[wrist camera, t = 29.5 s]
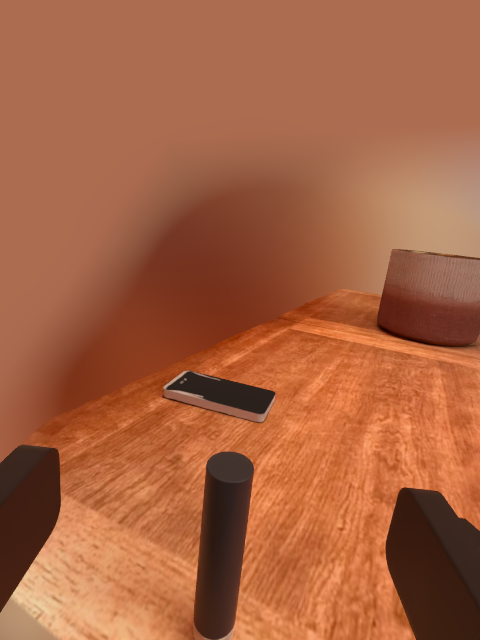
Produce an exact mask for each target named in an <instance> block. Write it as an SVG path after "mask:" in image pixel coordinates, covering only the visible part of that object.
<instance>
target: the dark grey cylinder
mask: <svg viewBox="0 0 480 640" xmlns="http://www.w3.org/2000/svg"><path fill="white" fill-rule="evenodd" d="M253 474H254V467H253V464H252V462H251V461H250V460H249V459H248V458H247V457H246V456H244V455H242V454H239V453H236V452H220V453H217V454H215V455H213V456H212V457H211V458H210V459H209V460H208V462H207V465H206V476H205V488H204V500H203V511H202V523H201V535H200V547H199V558H198V570H197V582H196V593H195V605H194V617H193V636H194V639H195V640H232V637H233V633H234V625H235V617H236V609H237V601H238V593H239V585H240V578H241V570H242V562H243V554H244V546H245V538H246V530H247V522H248V514H249V506H250V498H251V490H252V482H253Z"/></svg>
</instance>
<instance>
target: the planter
mask: <svg viewBox="0 0 480 640" xmlns="http://www.w3.org/2000/svg"><path fill="white" fill-rule="evenodd" d="M377 322H378V323H379V325H380V326H381V327H383V328H384V329H385V330H387V331H389V332H391V333H393V334H396V335H398V336H401V337H404V338H407V339H411V340H415V341H419V342H424V343H429V344H436V345H444V346H463V345H468V344H471V343H473V342H475V341H476V340H477V337H478V334H479V331H480V258H474V257H466V256H457V255H450V254H441V253H431V252H422V251H412V250H401V249H393V250H392V252H391V256H390V261H389V266H388V271H387V275H386V280H385V285H384V289H383V293H382V298H381V302H380V307H379V311H378V317H377Z"/></svg>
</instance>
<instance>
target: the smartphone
mask: <svg viewBox="0 0 480 640" xmlns="http://www.w3.org/2000/svg"><path fill="white" fill-rule="evenodd" d="M163 396H164V397H166V398H169V399H173V400H177V401H180V402H184V403H188V404H191V405H195V406H199V407H202V408H206V409H210V410H213V411H217V412H221V413H224V414H228V415H232V416H235V417H239V418H243V419H246V420H250V421H254V422H263V421H264V420H265V418H266V416H267V414H268V413H269V411H270V409H271V407H272V405H273V403H274V401H275V392H273V391H270V390H266V389H262V388H258V387H254V386H250V385H246V384H242V383H238V382H233V381H229V380H225V379H221V378H217V377H213V376H209V375H205V374H201V373H196V372H192V371H184V372H183V373H181V374H180V375H179V376H177V377H176V378H175V379H173V380H172V381H170V382H169V383H168V384H166V385H165V386H164V390H163Z"/></svg>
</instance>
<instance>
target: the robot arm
mask: <svg viewBox="0 0 480 640" xmlns="http://www.w3.org/2000/svg"><path fill="white" fill-rule="evenodd" d="M60 506H61V494H60V463H59V453H58V450H57V449H55V448H49V447H39V446H30V445H20V446H18V447H17V448H16V449H15V450H14V451H13V452H12V453H11V454H9V456H7V457H6V458H5V459H4V460H3V461H2V462H1V463H0V612H1V611H2V609H3V608H4V606H5V604H6V603H7V601H8V600H9V598H10V597H11V595H12V594H13V592H14V591H15V589H16V587H17V586H18V584H19V583H20V581H21V580H22V578H23V577H24V575H25V573H26V572H27V570H28V569H29V567H30V566H31V564H32V563H33V561H34V559H35V558H36V556H37V555H38V553H39V552H40V550H41V549H42V547H43V545H44V544H45V542H46V541H47V539H48V538H49V536H50V535H51V533H52V531H53V529H54V527H55V525H56V522H57V519H58V516H59V512H60ZM386 559H387V565H388V569H389V572H390V575H391V577H392V580H393V582H394V585H395V587H396V590H397V592H398V595H399V597H400V600H401V602H402V605H403V607H404V610H405V613H406V615H407V618H408V620H409V623H410V625H411V628H412V630H413V633H414V635H415V638H416V640H480V531H479V530H478V529H476V528H475V527H474V526H473V525H472V524H471V523H469V522H468V521H467V520H466V519H463V518H458V516H457V515H456V514H455V512H454V511H453V509H452V508H451V506H450V505H449V504H448V502H447V501H446V499H445V498H444V496H443V495H442V494H441V493H440V492H438V491H432V490H423V489H414V488H402V489H401V490H400V492H399V494H398V497H397V501H396V505H395V509H394V513H393V516H392V520H391V524H390V528H389V532H388V535H387V540H386Z"/></svg>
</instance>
